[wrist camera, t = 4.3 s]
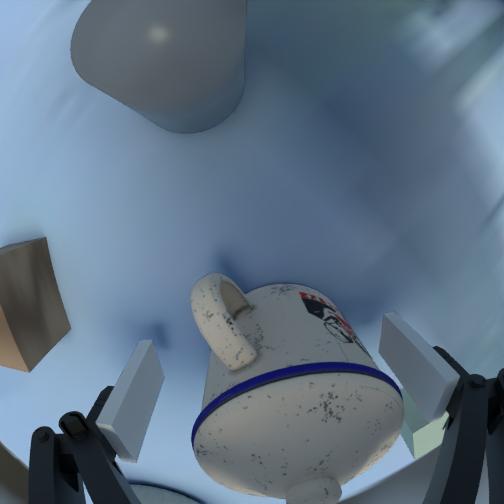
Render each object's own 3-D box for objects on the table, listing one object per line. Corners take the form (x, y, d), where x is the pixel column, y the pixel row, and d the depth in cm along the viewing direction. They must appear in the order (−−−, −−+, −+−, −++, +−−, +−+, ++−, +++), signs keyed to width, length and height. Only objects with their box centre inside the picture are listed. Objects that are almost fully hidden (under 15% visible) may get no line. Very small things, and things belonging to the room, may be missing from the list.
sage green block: (389, 395, 20) (412, 433, 15) (443, 361, 19) (472, 392, 14) (396, 426, 21) (414, 459, 16) (443, 396, 21) (466, 425, 16)
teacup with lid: (364, 351, 18) (440, 476, 7) (257, 408, 19) (268, 543, 8) (281, 205, 15) (380, 271, 4) (153, 288, 16) (54, 431, 5)
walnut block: (7, 245, 15) (-45, 267, 9) (46, 236, 15) (-12, 260, 9) (31, 326, 17) (-10, 362, 11) (71, 328, 17) (29, 372, 11)
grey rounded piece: (141, 54, 13) (82, -13, 5) (239, 37, 13) (238, -51, 5) (144, 142, 14) (65, 116, 6) (249, 126, 14) (256, 73, 6)
